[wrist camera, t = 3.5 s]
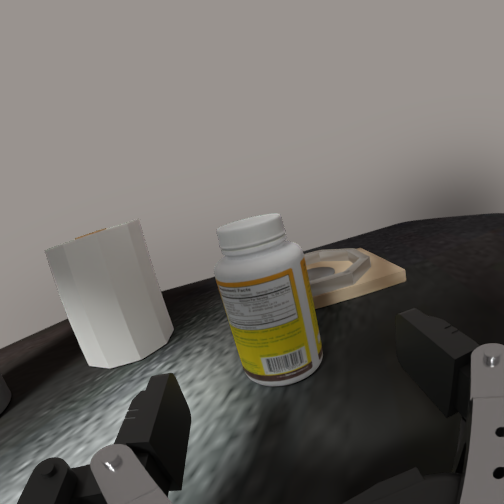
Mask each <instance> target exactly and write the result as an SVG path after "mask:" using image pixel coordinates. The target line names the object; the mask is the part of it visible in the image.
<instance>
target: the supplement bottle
mask: <svg viewBox="0 0 504 504" xmlns="http://www.w3.org/2000/svg"><path fill="white" fill-rule="evenodd" d="M285 232H286V230H285V228H284V225H283V221H282V217H281V215H280V214H277V213H273V214H265V215H260V216H255V217H251V218H246V219H242V220H239V221H235V222H232V223H229V224H226V225H224V226H221V227H219V228H218V229H217V236H218V240H219V247H220V248H221V249H222V250H221V251H222V254H223V255H225V257H223V258H221V259H220V260H219V261H218V262H217V264H216V265H215V268H214V274H215V278H216V282H217V285H218V288H219V292H220V295H221V298H222V302H223V305H224V308H225V312H226V315H227V318H228V321H229V324H230V328H231V331H232V334H233V337H234V341H235V344H236V347H237V350H238V353H239V356H240V359H241V362H242V366H243V369H244V371H245V373H246V375H247V376H248V377H249V378H250V379H251V380H252V381H254V382H256V383H258V384H261V385H264V386H284V385H289V384H293V383H296V382H298V381H301V380H303V379H305V378H306V377H308V376H309V375H311V374H312V373H313V372H314V371H315V370H316V369H317V368H318V367H319V365H320V363H321V361H322V357H323V350H322V344H321V339H320V333H319V328H318V323H317V317H316V312H315V307H314V302H313V297H312V292H311V287H310V282H309V277H308V272H307V267H306V262H305V258H304V254H303V251H302V248H301V247H300V246H299V245H298V244H297V243H295V242H291V241H285V240H286V234H285Z"/></svg>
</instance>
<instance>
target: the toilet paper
mask: <svg viewBox="0 0 504 504" xmlns="http://www.w3.org/2000/svg"><path fill="white" fill-rule="evenodd" d="M45 253H46V256H47V260H48V263H49V266H50V269H51V272H52V275H53V278H54V281H55V284H56V287H57V290H58V293H59V296H60V298H61V301H62V304H63V306H64V309H65V311H66V314H67V316H68V319H69V322H70V324H71V326H72V329H73V331H74V334H75V336H76V338H77V340H78V343H79V345H80V347H81V349H82V352H83V354H84V356H85V358H86V360H87V362H88V364H89V366H94V367H101V368H109V369H110V368H114V367H118V366H121V365H125V364H128V363H132V362H135V361H139V360H142V359H143V358H145V357H146V356H148V355H150V354H151V353H153V352H154V351H156V350H157V349H159V348H161V347H162V346H164V345H165V344H167V342H168V340H169V338H170V336H171V334H172V332H173V330H174V328H173V325H172V322H171V319H170V317H169V314H168V311H167V308H166V305H165V302H164V299H163V296H162V293H161V290H160V287H159V284H158V281H157V278H156V275H155V272H154V269H153V265H152V262H151V259H150V256H149V252H148V249H147V246H146V242H145V239H144V235H143V232H142V228H141V225H140V221H139V219H137V220H133V221H130V222H127V223H123V224H120V225H117V226H114V227H111V228H108V229H106V228H105V229H102V230H98V231H96V232H92V233H89V234H87V235H84V236H81V237H78V238H75V240H72V241H69V242H66V243H63V244H61V245H58V246H55V247H52V248H50V249H47V250H45Z"/></svg>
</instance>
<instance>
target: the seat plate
mask: <svg viewBox="0 0 504 504" xmlns="http://www.w3.org/2000/svg"><path fill="white" fill-rule="evenodd" d="M304 258H305V262H306V267H307V272H308V277H309V282H310V287H311V292H312V297H313V302H314V307H315V309H318V308H321V307H325V306H328V305H332V304H335V303H338V302H342V301H345V300H349V299H352V298H355V297H358V296H362V295H365V294H368V293H371V292H374V291H377V290H381V289H384V288H387V287H390V286H393V285H396V284H399V283H402V282H405V281H406V274H405V270H404V269H402V268H400V267H398V266H396V265H394V264H392V263H390V262H388V261H386V260H384V259H382V258H380V257H378V256H376V255H374V254H372V253H370V252H368V251H366V250H364V249H362V248H358V249H354V248H350V249H330V250H318V251H314V252H310V253H307V254H304Z"/></svg>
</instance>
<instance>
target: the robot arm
mask: <svg viewBox="0 0 504 504" xmlns="http://www.w3.org/2000/svg"><path fill="white" fill-rule="evenodd" d="M395 330H396V351H397V357H398V360H399V363H400V365H401V366H402V368H403V369H404V370H405V371H406V372H407V373H408V374H409V375H410V377H411V378H412V379H413V380H414V381H415V382H416V383H417V384H418V386H419V387H420V388H421V389H422V390H423V391H424V392H425V393H426V395H427V396H428V397H429V398H430V399H431V400H432V401H433V403H434V404H435V405H436V406H437V407H438V408H439V410H440V411H441V412H442V413H443V414H444V415H445V416H446V418H448V417H450V416H452V415H454V414H455V413H457V412H459V413H460V414H461V419H460V426H459V434H458V441H457V447H456V454H455V459H454V465H453V469H452V473H435V474H428V475H423V476H422V475H421V474H420V472H419V470H418V469H417V467H415V468H412V469H410V470H408V471H406V472H403V473H401V474H399V475H396V476H394V477H392V478H389V479H387V480H384V481H382V482H379V483H377V484H375V485H374V486H372V487H371V488H369V489H367V490H366V491H364V492H362V493H360V494H359V495H357V496H355V497H353V498H352V499H350V500H348V501H346V502H344V503H342V504H504V345H501V344H497V343H489V344H484V345H479V344H478V343H476V342H475V341H474V340H472V339H471V338H469V337H468V336H466V335H465V334H464V333H462V332H461V331H458V329H456V328H455V327H453V326H451V324H449V323H448V322H446V321H445V320H443V319H441V318H437V317H433V316H429V317H428V316H427V315H425V314H424V313H422V312H421V311H420V310H418V309H417V308H413V309H410V310H408V311H405V312H402V313H399V314H397V315H396V317H395ZM10 399H11V391H10V390H9V388H8V386H7V384H6V382H5V381H4V379H3V377H2V375H1V373H0V414H1V413H2V412H3V411H4V409H5V408H6V407H7V405H8V404H9V402H10ZM128 410H129V411H127V414H126V416H125V419H124V421H123V423H122V426H121V428H120V431H119V433H118V435H117V438H116V440H115V443H114V444H113V445H109V446H106V447H104V448H102V449H101V450H99V451H98V452H97V453H96V454H95V455H94V456H93V458H92V460H91V463H90V465H86V466H81V467H76V468H70V467H69V466H68V464H67V463H66V462H65V461H64V460H63V459H61V458H56V457H55V458H49V459H46V460H44V461H42V462H41V463H39V464H38V465H37V466H36V467H35V469H34V470H33V472H32V474H31V476H30V478H29V480H28V482H27V484H26V486H25V488H24V490H23V492H22V494H21V496H20V498H19V500H18V503H17V504H172V502H171V501H170V500H169V499H168V493H169V491H177V490H182V482H183V475H184V468H185V460H186V453H187V447H188V440H189V433H190V426H191V414H190V410H189V407H188V404H187V402H186V400H185V398H184V395H183V393H182V391H181V389H180V386H179V384H178V382H177V379H176V377H175V376H174V374H173V373H167V374H161V375H155V376H152V377H151V378H150V380H149V383H148V385H147V388H146V390H145V391H141V392H140V393H139V394H138V395H137V396H136V397H135V398H134V399H133V400H132V402H131V404H130V407H129V409H128Z"/></svg>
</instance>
